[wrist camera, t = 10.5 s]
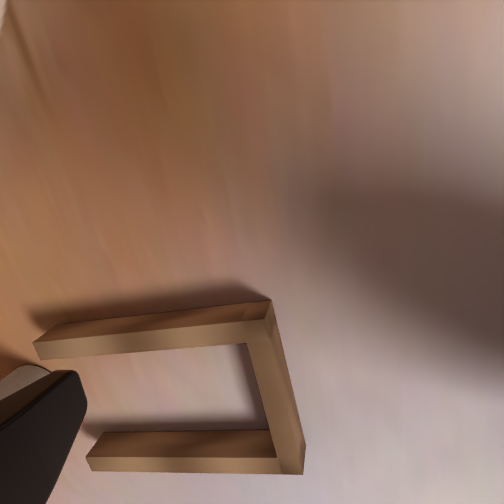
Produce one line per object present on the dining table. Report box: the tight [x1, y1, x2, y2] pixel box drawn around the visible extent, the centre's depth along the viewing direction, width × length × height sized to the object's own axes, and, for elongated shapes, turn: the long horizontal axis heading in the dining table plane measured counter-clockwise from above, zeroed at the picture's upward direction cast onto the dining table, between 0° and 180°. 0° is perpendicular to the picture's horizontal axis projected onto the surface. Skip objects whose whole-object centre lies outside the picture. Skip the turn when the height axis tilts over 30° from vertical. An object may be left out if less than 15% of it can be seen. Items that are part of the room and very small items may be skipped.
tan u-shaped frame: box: [33, 300, 306, 475], centre depth 22 cm, size 14×10×2 cm
